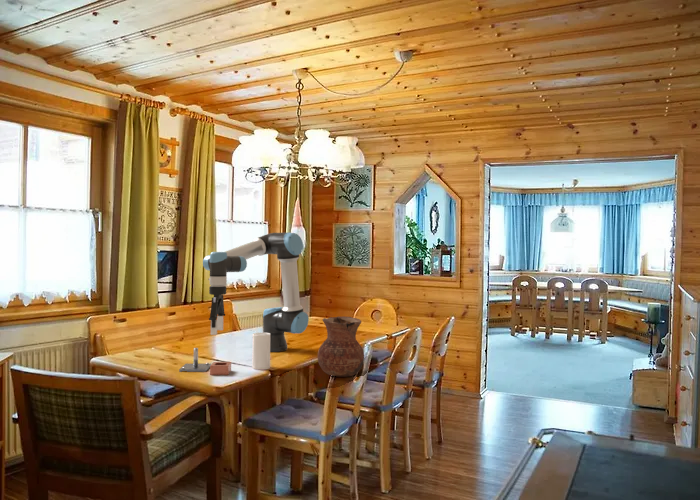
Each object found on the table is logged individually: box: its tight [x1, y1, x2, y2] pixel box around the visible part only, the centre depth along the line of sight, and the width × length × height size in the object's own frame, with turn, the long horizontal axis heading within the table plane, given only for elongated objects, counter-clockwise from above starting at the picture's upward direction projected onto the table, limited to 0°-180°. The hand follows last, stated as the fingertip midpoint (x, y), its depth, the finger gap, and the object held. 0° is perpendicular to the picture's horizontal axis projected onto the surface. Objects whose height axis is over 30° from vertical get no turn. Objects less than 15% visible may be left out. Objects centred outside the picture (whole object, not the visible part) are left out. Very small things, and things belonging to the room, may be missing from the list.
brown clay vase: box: [317, 316, 365, 378], centre depth 248 cm, size 22×21×25 cm
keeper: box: [178, 347, 212, 373], centre depth 253 cm, size 12×12×10 cm
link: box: [209, 361, 232, 376], centre depth 246 cm, size 8×8×4 cm
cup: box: [251, 332, 271, 371], centre depth 257 cm, size 8×8×16 cm
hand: (217, 332), depth 248 cm, fingers open, 13 cm apart
